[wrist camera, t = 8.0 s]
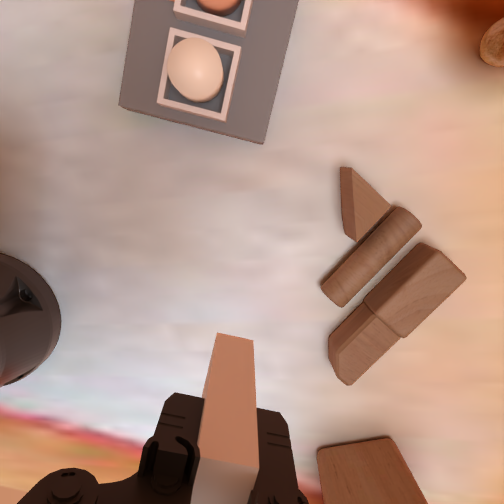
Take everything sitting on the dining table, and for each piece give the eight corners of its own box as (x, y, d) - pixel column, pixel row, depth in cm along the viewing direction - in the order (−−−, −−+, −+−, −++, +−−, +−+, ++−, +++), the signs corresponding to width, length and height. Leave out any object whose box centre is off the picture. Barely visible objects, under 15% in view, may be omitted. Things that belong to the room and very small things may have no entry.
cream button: (169, 95, 33) (162, 88, 30) (179, 43, 32) (172, 30, 29) (217, 108, 34) (215, 103, 31) (228, 56, 33) (227, 45, 30)
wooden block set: (482, 274, 37) (354, 396, 40) (451, 260, 42) (341, 368, 45) (362, 158, 34) (234, 298, 37) (346, 159, 40) (235, 281, 42)
